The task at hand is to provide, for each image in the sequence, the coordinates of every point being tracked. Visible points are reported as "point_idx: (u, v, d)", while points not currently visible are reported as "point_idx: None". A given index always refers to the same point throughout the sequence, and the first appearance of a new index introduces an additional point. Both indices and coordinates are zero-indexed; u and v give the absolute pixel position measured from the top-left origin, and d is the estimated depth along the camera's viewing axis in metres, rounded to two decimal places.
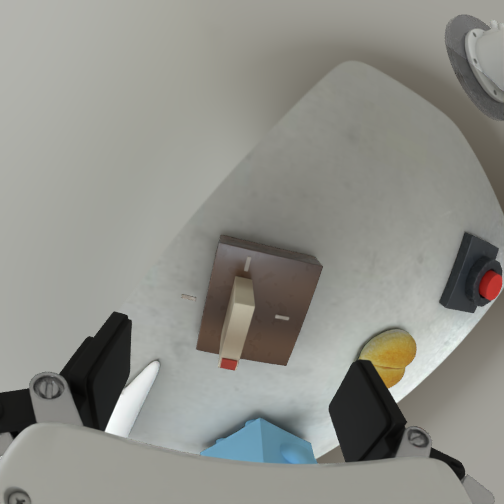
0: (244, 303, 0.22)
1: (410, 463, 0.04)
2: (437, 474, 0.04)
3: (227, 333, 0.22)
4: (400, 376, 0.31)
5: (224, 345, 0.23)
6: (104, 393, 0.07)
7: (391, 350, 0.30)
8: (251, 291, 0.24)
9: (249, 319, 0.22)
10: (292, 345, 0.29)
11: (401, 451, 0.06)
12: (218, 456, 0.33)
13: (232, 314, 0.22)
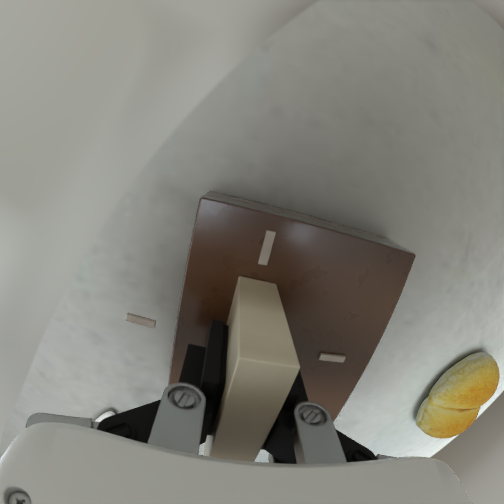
0: (267, 360, 0.07)
1: (410, 463, 0.04)
2: (437, 474, 0.04)
3: (219, 427, 0.07)
4: None
5: (213, 447, 0.08)
6: None
7: (476, 385, 0.15)
8: (280, 315, 0.09)
9: (281, 398, 0.07)
10: (343, 401, 0.14)
11: (304, 438, 0.07)
12: None
13: (232, 388, 0.07)
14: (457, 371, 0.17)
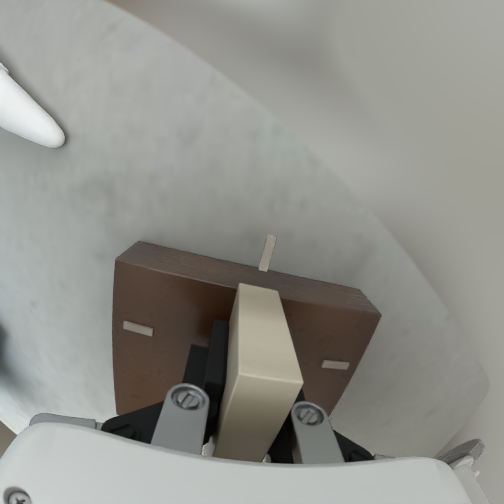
0: (269, 375, 0.06)
1: (410, 463, 0.04)
2: (437, 474, 0.04)
3: (219, 441, 0.07)
4: None
5: None
6: None
7: None
8: (282, 325, 0.09)
9: (283, 413, 0.07)
10: None
11: (301, 438, 0.07)
12: None
13: (232, 403, 0.06)
14: None
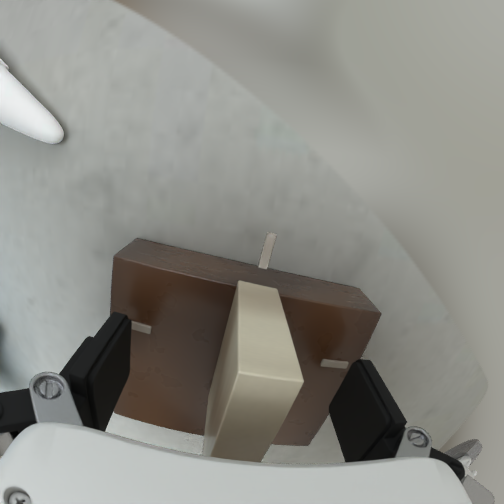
0: (269, 373, 0.06)
1: (410, 463, 0.04)
2: (437, 474, 0.04)
3: (218, 440, 0.07)
4: None
5: None
6: (104, 393, 0.07)
7: None
8: (282, 323, 0.09)
9: (283, 412, 0.07)
10: (159, 424, 0.14)
11: (401, 451, 0.06)
12: None
13: (231, 402, 0.06)
14: None
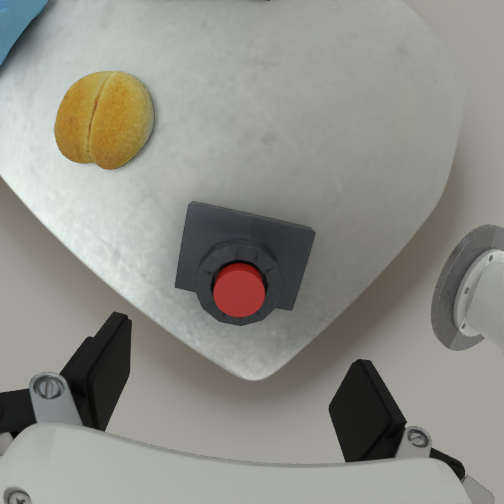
0: None
1: (410, 463, 0.04)
2: (437, 474, 0.04)
3: None
4: (74, 138, 0.18)
5: None
6: (104, 393, 0.07)
7: (128, 96, 0.17)
8: None
9: None
10: None
11: (401, 451, 0.06)
12: None
13: None
14: (143, 85, 0.19)
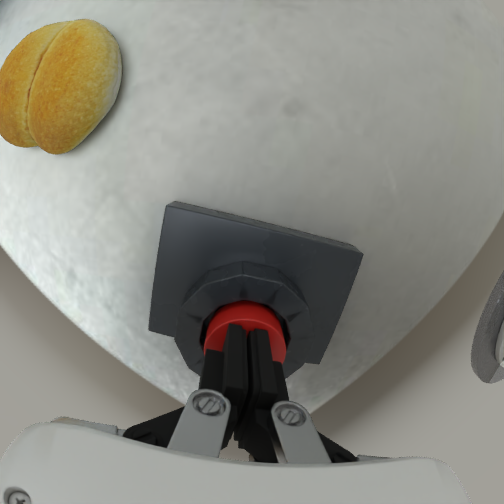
0: None
1: (410, 463, 0.04)
2: (437, 474, 0.04)
3: None
4: (9, 110, 0.09)
5: None
6: None
7: (82, 43, 0.09)
8: None
9: None
10: None
11: (285, 440, 0.06)
12: None
13: None
14: (110, 33, 0.11)
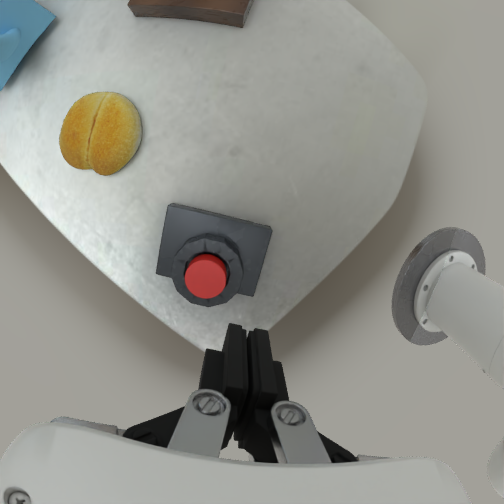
0: None
1: (410, 463, 0.04)
2: (437, 474, 0.04)
3: None
4: (76, 149, 0.22)
5: None
6: None
7: (120, 116, 0.22)
8: None
9: None
10: (153, 3, 0.18)
11: (285, 440, 0.06)
12: None
13: None
14: (133, 105, 0.23)
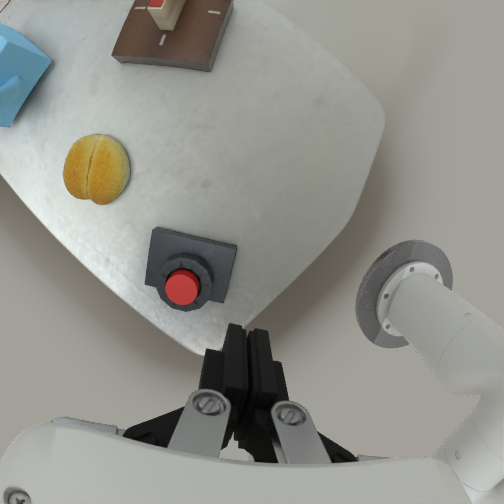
0: None
1: (410, 463, 0.04)
2: (437, 474, 0.04)
3: None
4: (77, 185, 0.28)
5: None
6: None
7: (111, 158, 0.28)
8: None
9: None
10: (132, 54, 0.25)
11: (285, 440, 0.06)
12: (18, 35, 0.20)
13: None
14: (121, 147, 0.29)
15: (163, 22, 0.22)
